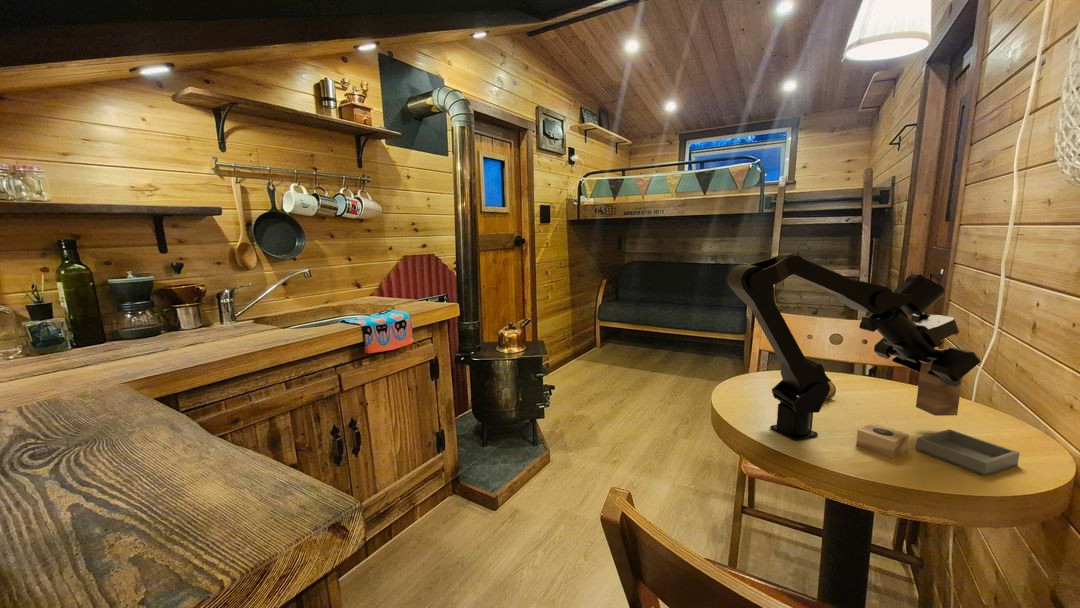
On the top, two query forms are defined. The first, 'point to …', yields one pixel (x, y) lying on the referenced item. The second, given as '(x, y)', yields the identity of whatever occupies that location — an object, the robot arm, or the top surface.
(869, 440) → the short block
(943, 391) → the tall block
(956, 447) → the tray
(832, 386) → the grey yellow round piece
